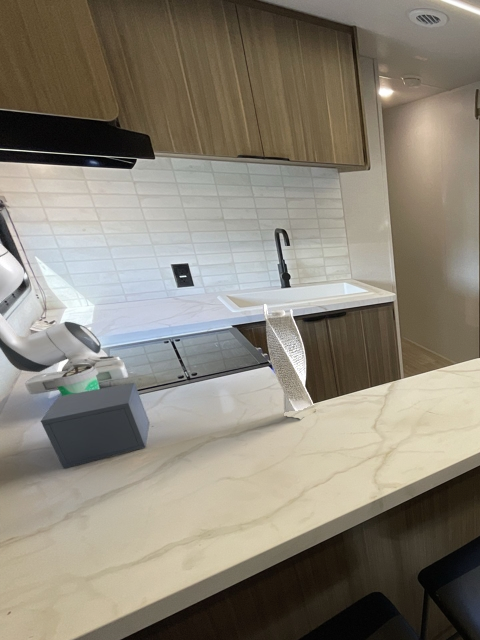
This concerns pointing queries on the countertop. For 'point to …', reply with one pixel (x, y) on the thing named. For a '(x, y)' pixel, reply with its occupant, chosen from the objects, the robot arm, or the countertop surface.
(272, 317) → the skyscraper
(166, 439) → the countertop surface
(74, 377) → the food container
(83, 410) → the cabinet
